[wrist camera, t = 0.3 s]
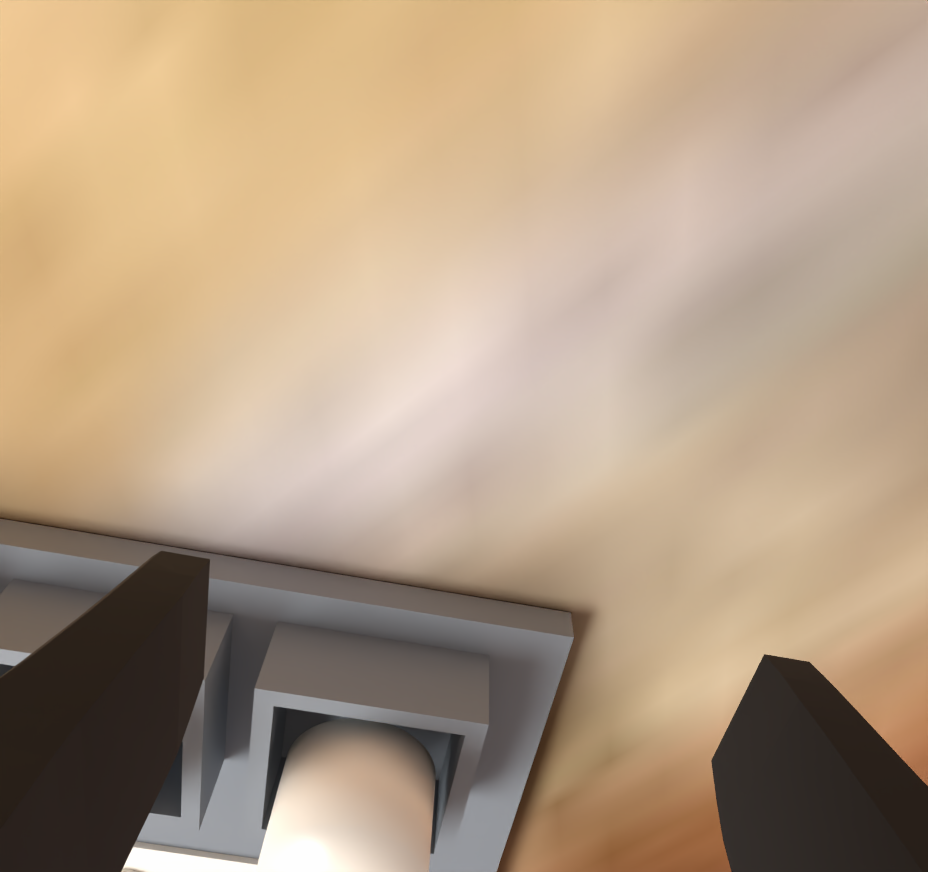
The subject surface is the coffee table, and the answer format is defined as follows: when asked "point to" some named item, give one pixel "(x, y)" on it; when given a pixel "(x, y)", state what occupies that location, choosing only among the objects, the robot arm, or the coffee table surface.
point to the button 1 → (352, 802)
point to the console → (312, 688)
